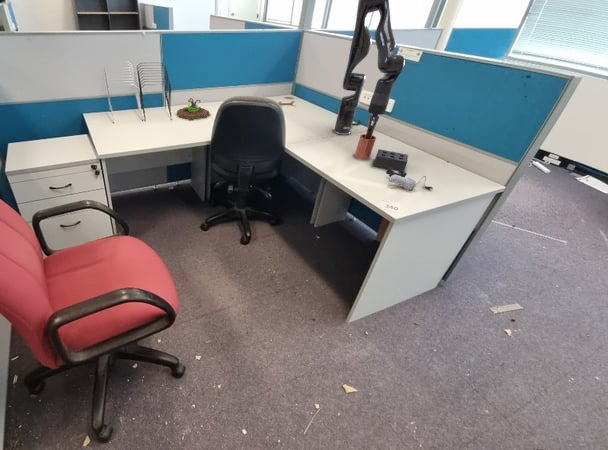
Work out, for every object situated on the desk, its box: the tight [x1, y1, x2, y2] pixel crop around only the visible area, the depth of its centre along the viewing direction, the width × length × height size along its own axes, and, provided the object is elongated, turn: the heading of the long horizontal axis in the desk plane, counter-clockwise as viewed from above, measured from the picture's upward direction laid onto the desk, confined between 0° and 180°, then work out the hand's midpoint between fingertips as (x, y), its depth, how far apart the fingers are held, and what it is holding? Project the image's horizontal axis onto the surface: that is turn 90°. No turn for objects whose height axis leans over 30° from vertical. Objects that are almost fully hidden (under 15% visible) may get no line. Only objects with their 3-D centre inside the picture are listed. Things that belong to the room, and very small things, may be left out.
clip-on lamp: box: [385, 169, 434, 191], centre depth 145 cm, size 12×6×18 cm
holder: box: [372, 148, 409, 172], centre depth 160 cm, size 10×13×6 cm
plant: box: [176, 97, 210, 121], centre depth 219 cm, size 20×20×11 cm
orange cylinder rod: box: [365, 128, 375, 139], centre depth 164 cm, size 3×3×12 cm
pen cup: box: [354, 133, 377, 161], centre depth 167 cm, size 7×7×11 cm
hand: (368, 137), depth 164 cm, fingers closed on orange cylinder rod, 3 cm apart
